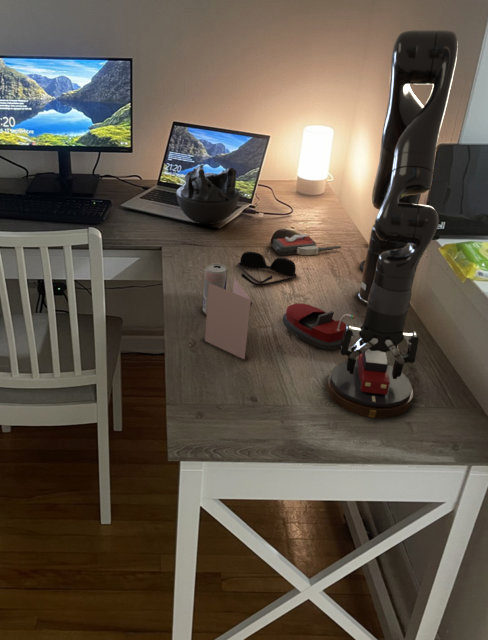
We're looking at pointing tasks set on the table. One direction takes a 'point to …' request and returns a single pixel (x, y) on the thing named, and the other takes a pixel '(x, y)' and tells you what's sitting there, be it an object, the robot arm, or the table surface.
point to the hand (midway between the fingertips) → (372, 374)
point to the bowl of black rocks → (208, 195)
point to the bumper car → (315, 325)
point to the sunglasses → (266, 267)
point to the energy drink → (214, 280)
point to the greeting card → (228, 318)
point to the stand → (366, 409)
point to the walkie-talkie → (298, 245)
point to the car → (371, 381)
